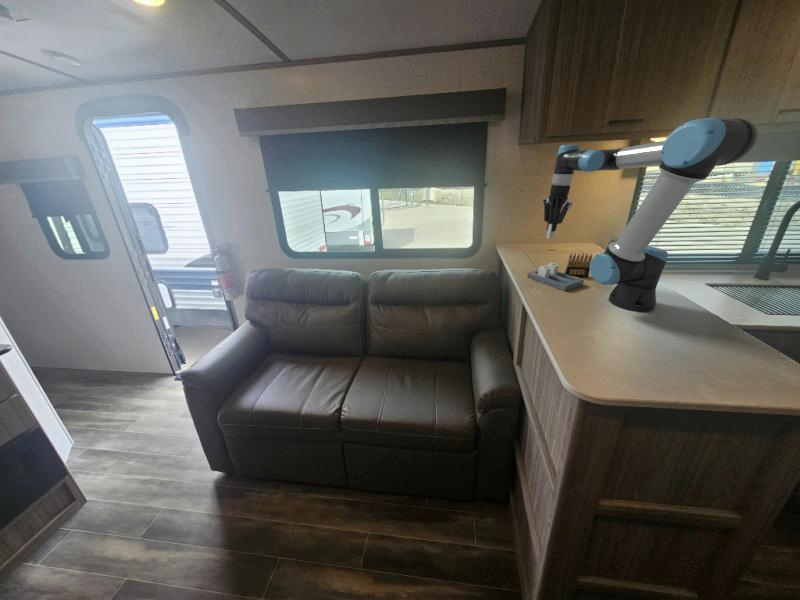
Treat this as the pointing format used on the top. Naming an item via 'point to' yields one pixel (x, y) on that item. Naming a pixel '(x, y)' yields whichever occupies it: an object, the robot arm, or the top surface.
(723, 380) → the top surface
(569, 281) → the switch bank
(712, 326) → the top surface
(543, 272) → the tab
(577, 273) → the ammunition clip
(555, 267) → the tab
